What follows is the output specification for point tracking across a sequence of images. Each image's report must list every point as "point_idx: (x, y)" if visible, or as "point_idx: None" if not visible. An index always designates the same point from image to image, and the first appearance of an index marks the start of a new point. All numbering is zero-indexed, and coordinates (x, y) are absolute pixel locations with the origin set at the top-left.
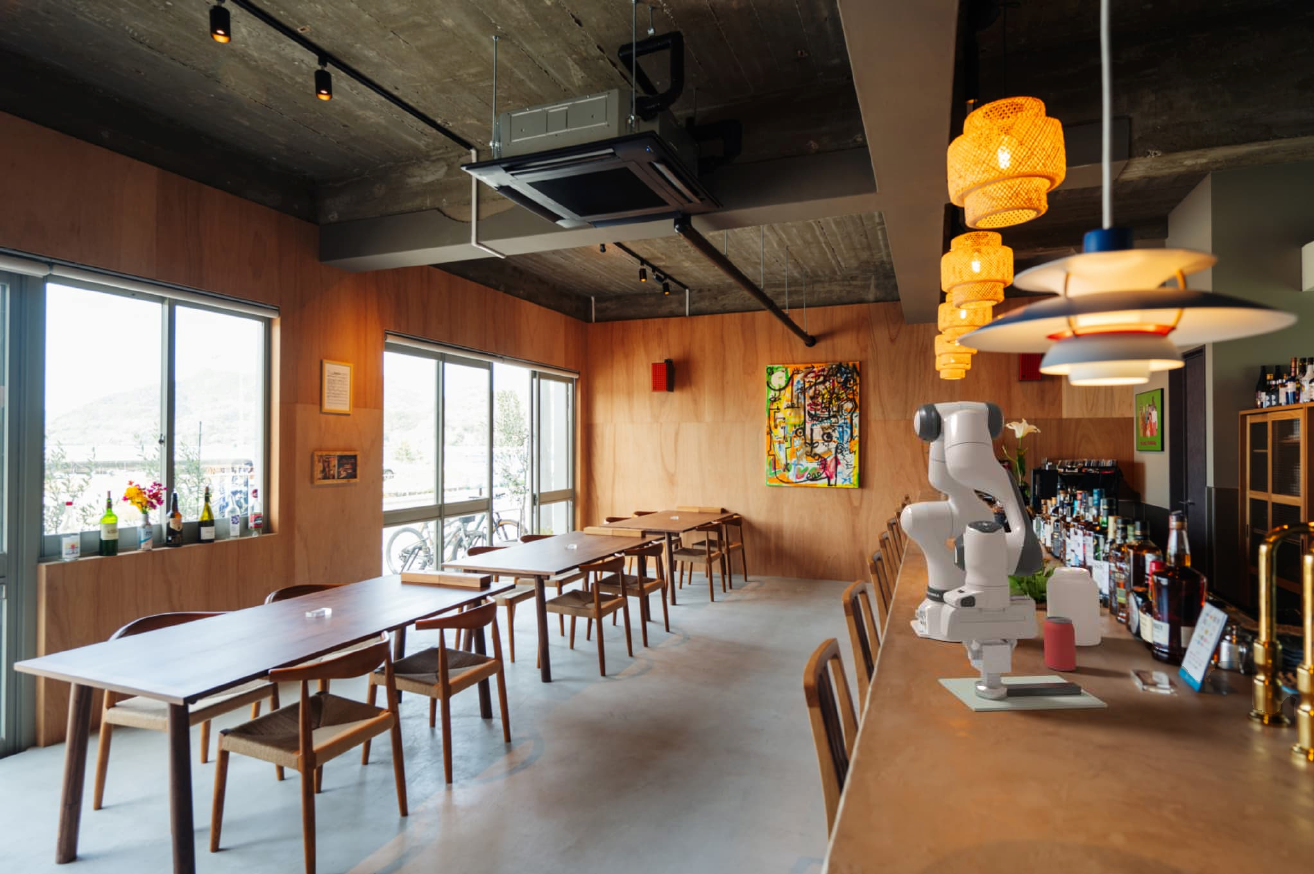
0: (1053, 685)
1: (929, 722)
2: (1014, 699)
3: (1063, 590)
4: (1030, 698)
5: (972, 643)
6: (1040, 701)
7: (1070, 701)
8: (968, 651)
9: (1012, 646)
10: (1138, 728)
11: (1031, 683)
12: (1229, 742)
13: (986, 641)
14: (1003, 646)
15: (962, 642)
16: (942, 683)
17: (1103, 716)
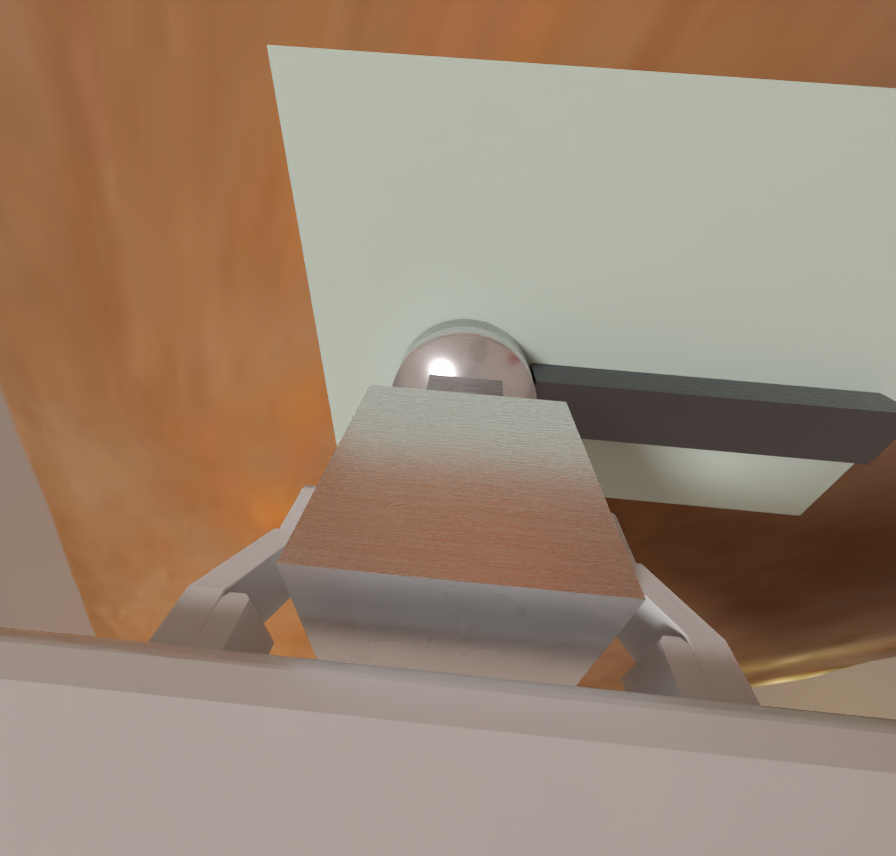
0: (765, 435)
1: (198, 500)
2: None
3: None
4: None
5: (267, 651)
6: (603, 465)
7: (709, 480)
8: (285, 529)
9: (625, 646)
10: (690, 592)
11: (694, 396)
12: (781, 644)
13: (416, 652)
14: None
15: (188, 589)
16: (287, 137)
17: (693, 544)
